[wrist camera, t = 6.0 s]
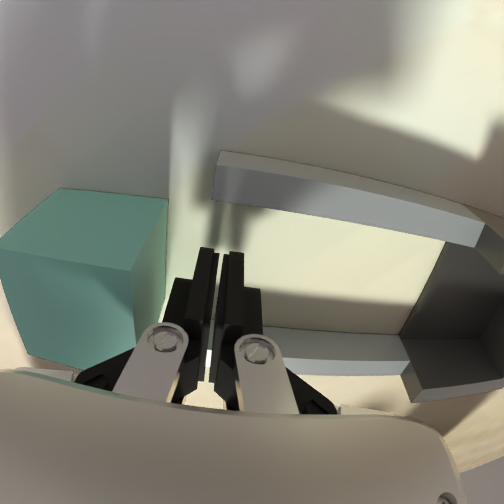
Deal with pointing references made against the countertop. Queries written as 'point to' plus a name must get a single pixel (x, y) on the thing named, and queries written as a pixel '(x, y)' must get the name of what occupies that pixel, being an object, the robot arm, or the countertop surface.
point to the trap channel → (430, 301)
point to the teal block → (85, 274)
